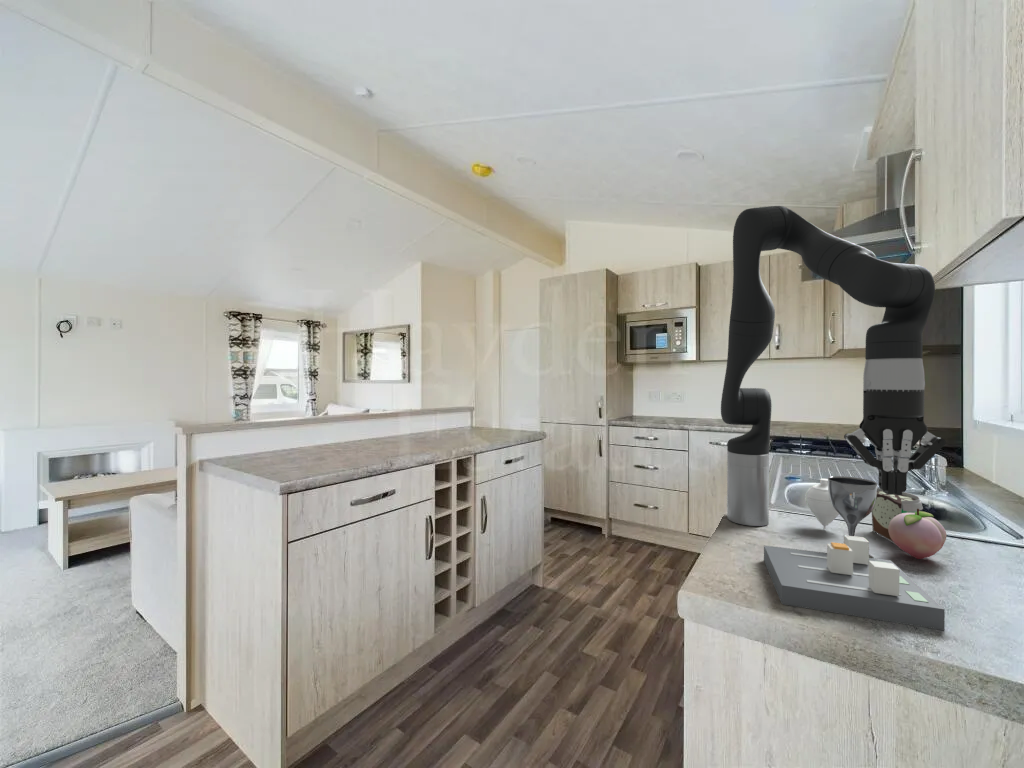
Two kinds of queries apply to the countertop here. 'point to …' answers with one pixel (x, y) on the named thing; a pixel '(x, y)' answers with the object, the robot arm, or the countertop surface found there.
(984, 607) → the countertop surface
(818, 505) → the spinning top
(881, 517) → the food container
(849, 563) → the block
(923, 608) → the grey flat slab
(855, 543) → the block
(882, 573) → the breaker
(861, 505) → the wine glass
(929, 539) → the decorative fruit
